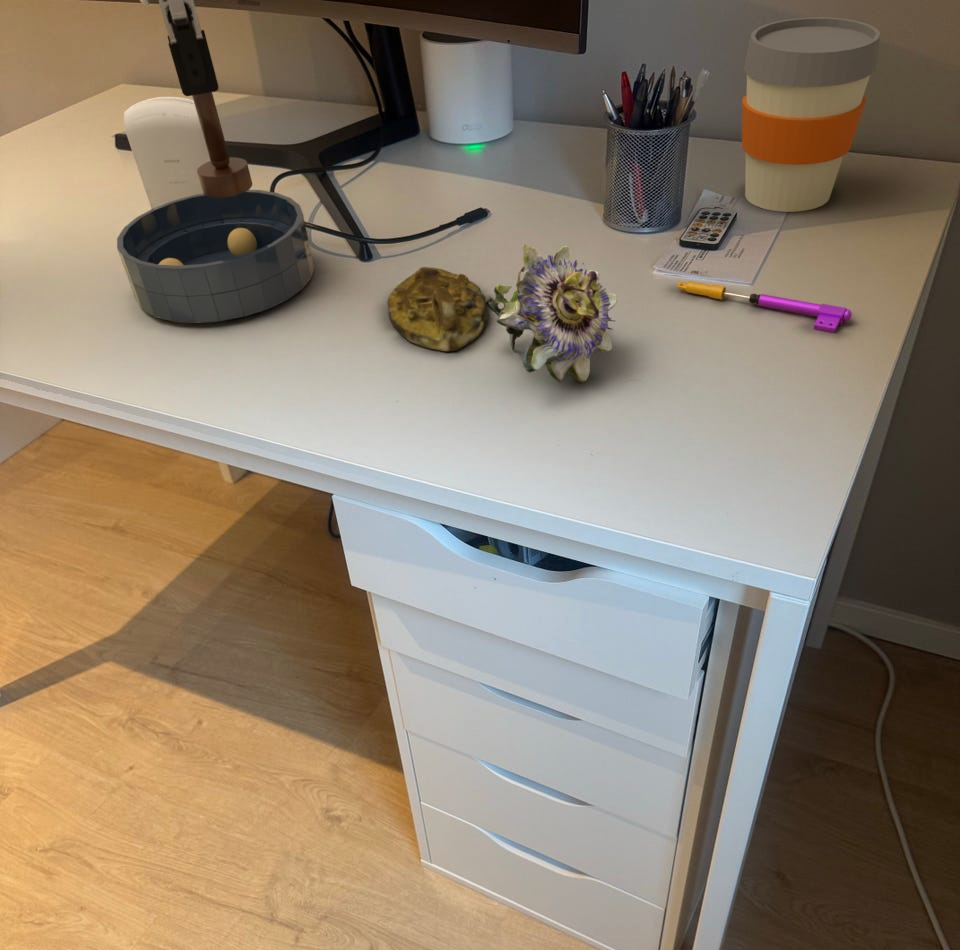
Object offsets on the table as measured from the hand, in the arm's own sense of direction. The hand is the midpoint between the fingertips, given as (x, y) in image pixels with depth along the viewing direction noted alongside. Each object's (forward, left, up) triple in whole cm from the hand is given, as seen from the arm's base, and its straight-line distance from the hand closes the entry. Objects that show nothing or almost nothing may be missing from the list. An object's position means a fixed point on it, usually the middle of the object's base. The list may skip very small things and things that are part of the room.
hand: (200, 87), depth 81 cm
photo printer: (-5, +20, -18) cm, 27 cm away
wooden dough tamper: (0, 0, -9) cm, 9 cm away
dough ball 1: (-8, 0, -16) cm, 17 cm away
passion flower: (+23, -27, -18) cm, 40 cm away
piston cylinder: (+44, -26, -18) cm, 54 cm away
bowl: (-3, 0, -18) cm, 18 cm away
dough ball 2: (0, +4, -16) cm, 16 cm away
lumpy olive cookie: (+16, -15, -18) cm, 29 cm away
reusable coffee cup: (+58, -4, -18) cm, 61 cm away
